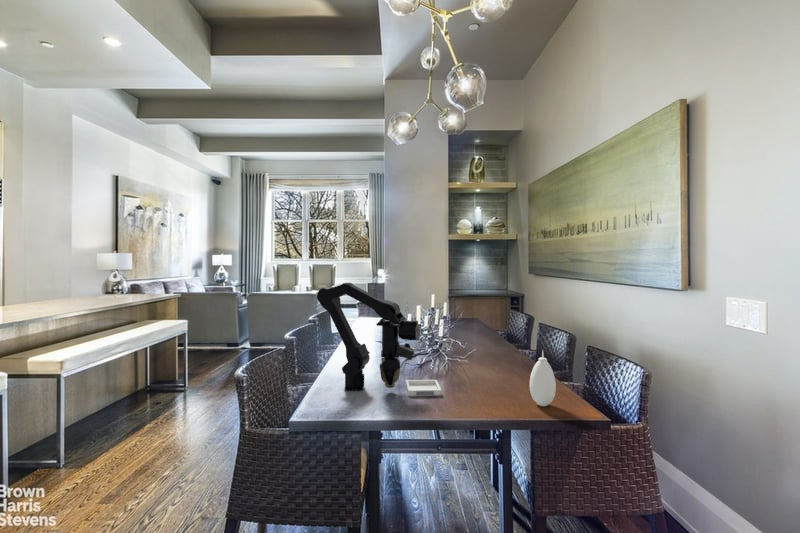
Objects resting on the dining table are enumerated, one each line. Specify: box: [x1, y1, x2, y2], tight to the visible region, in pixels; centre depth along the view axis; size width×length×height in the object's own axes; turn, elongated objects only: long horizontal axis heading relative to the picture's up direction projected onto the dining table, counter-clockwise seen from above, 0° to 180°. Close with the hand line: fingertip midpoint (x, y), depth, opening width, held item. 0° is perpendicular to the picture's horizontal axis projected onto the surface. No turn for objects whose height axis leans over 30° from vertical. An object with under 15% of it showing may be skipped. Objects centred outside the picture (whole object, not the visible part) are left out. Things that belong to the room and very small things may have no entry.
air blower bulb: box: [529, 350, 557, 407], centre depth 124 cm, size 8×8×18 cm
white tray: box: [405, 379, 443, 397], centre depth 137 cm, size 12×12×2 cm
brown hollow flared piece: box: [379, 363, 401, 389], centre depth 136 cm, size 8×7×8 cm
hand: (389, 382), depth 136 cm, fingers closed on brown hollow flared piece, 6 cm apart
